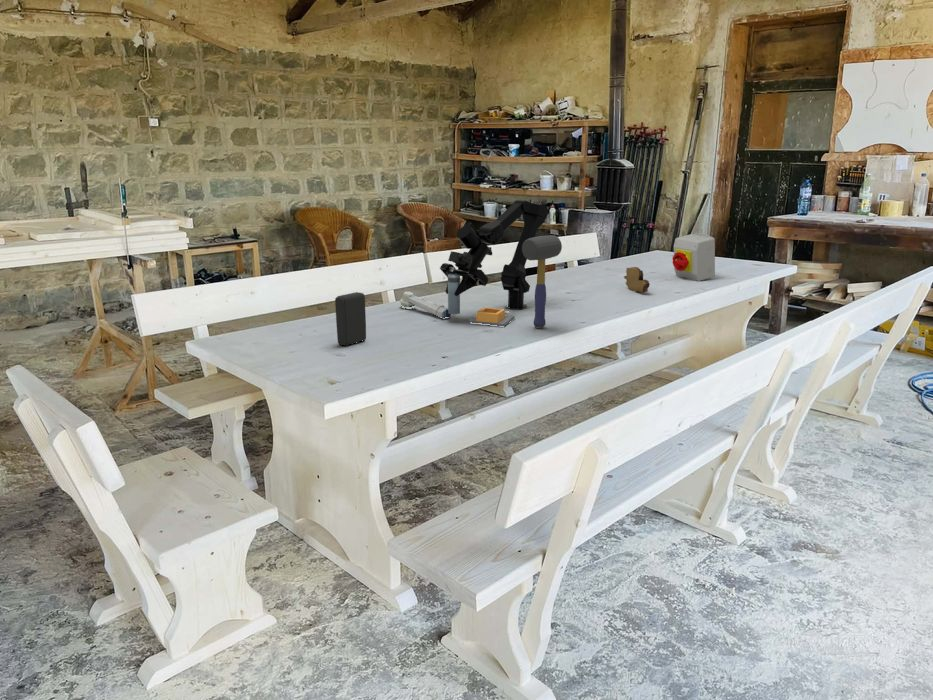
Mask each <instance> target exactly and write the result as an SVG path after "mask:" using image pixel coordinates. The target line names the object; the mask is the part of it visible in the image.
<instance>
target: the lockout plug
mask: <svg viewBox="0 0 933 700" xmlns="http://www.w3.org/2000/svg"><path fill="white" fill-rule="evenodd" d="M447 283H448V294H447V309H448V313H449V314H451V315H459V314H461V294H459V295H458V296H455V295H454V294H455V291H456V289H457V288H458V286H459V284H460V283H461V276H460V274H448V277H447Z"/></svg>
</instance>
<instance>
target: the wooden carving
mask: <svg viewBox="0 0 933 700" xmlns="http://www.w3.org/2000/svg"><path fill="white" fill-rule="evenodd" d="M625 273H626V275H625V276H623V278H624V279H625V280H626V282H625V285H626V286H627V288H628V289H629V290H630V291H631V290H632V292H633V291H635V292H634V293H637V292H640V293H642V294H643V293H644V294H645V293H647V292H648V289H649V288H650V285H651V284H650V281H649V280H648V279H644V272H643V270H641V268H639V267H638V266H632V267H626V269H625Z"/></svg>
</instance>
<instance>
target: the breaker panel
mask: <svg viewBox="0 0 933 700" xmlns="http://www.w3.org/2000/svg"><path fill="white" fill-rule="evenodd" d="M505 309H506V308H505ZM505 309H504V308H494V307H483V308H481V309H479V310H477V311H476V313H475V317H473V318H472V319H470V320H469V323H470V322H472V323H482V324H490V325H497V326H505V325H506V324H508V323H509V322H510V321H512V320H513V319H514V318H515V319H516V315H510V311H508V310H507V311H506V310H505ZM515 319H514V320H515ZM514 320H513V321H514ZM513 321H512V322H513ZM510 323H511V322H510ZM510 323H509V324H510ZM509 324H508V325H509ZM505 327H506V326H505Z"/></svg>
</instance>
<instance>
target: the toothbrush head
mask: <svg viewBox="0 0 933 700" xmlns="http://www.w3.org/2000/svg"><path fill="white" fill-rule="evenodd" d="M399 302H400V306H401V305H402V306H404V307H412V306H415V307H418V308H420V309H422V310H424V311H426V312H427V313H430V314H432V315H433V314H434V316H435V315H436V317H437V316H439V317H442V318H445V317H450V318H451V317H452V314H449V313H448V307H445V306H444V305H440V304H437V303H436V302H435V303H434V302H432V301H430V300H428V299H425V298H422V297H420V296H416V295H414V293H413V292H411V291H404V292H403V294H402V298H400V300H399Z"/></svg>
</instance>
